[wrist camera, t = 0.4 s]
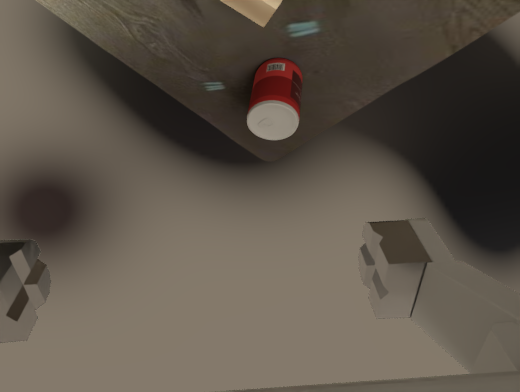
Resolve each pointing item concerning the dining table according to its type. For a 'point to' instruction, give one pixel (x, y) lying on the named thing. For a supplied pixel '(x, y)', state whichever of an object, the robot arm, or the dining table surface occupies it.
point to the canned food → (275, 99)
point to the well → (255, 9)
